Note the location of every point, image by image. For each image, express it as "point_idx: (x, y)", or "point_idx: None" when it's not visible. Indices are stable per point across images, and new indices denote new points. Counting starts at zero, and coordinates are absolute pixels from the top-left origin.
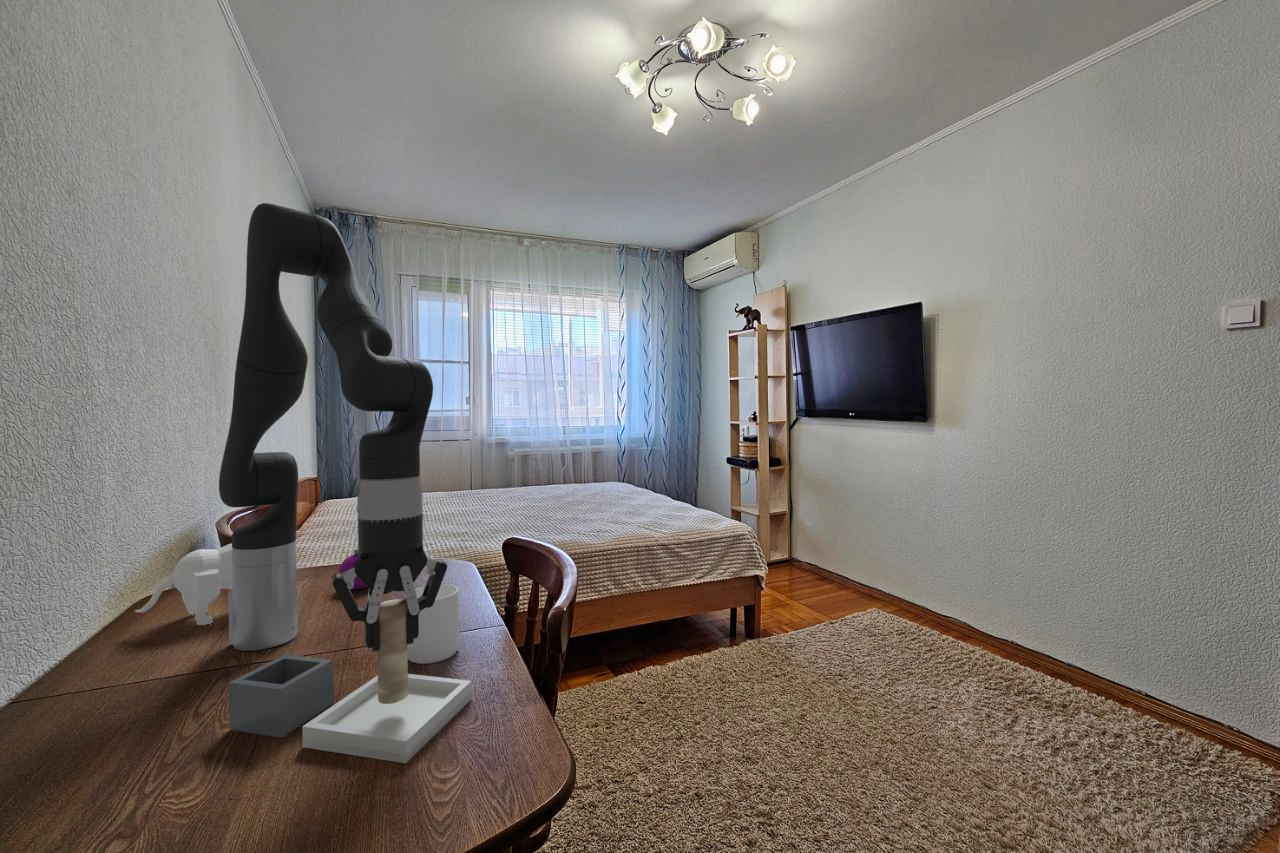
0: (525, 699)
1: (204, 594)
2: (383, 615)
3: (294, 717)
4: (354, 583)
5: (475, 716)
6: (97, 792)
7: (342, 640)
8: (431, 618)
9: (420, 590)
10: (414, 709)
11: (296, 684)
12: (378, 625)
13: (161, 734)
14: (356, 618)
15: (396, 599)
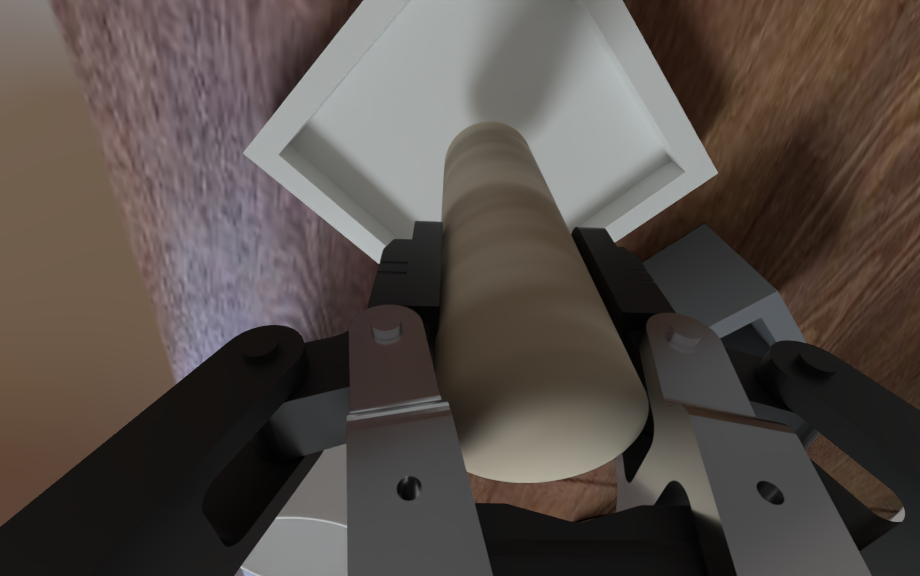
0: (78, 17)
1: None
2: (614, 331)
3: (686, 258)
4: None
5: (257, 14)
6: None
7: (499, 498)
8: (326, 457)
9: (340, 572)
10: (429, 137)
11: (720, 311)
12: (616, 300)
13: (835, 353)
14: (792, 354)
15: (484, 477)
